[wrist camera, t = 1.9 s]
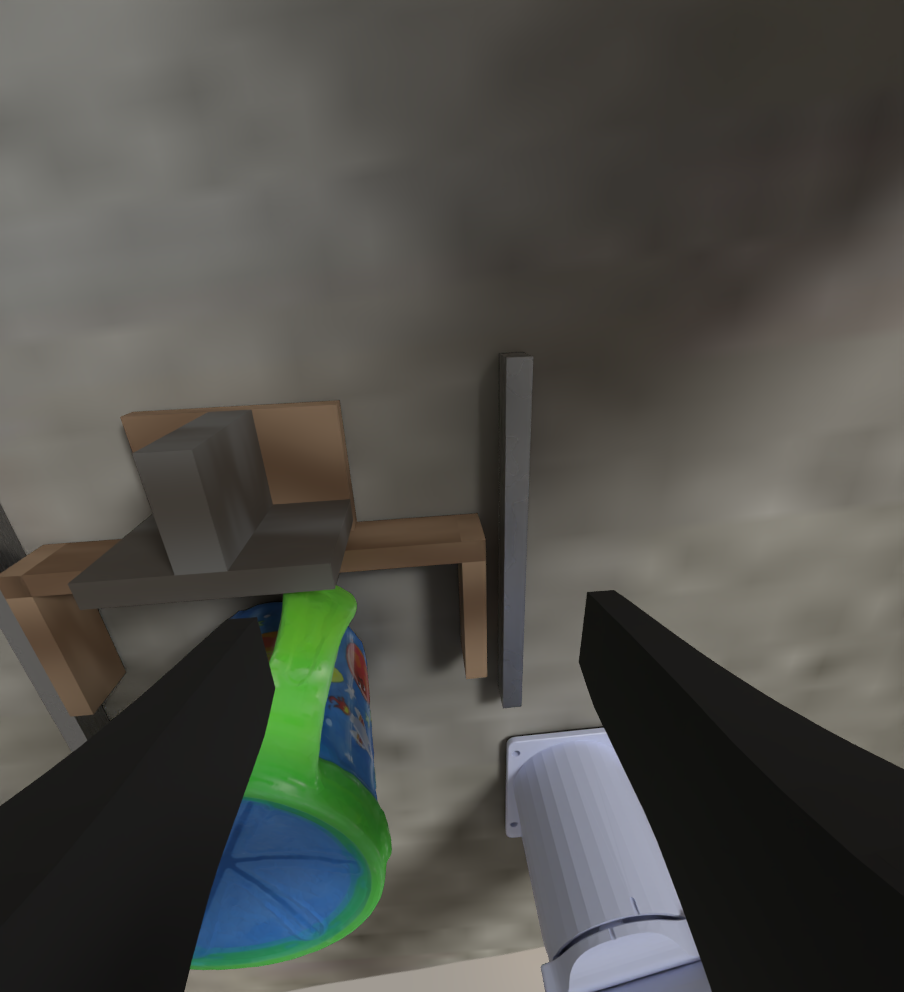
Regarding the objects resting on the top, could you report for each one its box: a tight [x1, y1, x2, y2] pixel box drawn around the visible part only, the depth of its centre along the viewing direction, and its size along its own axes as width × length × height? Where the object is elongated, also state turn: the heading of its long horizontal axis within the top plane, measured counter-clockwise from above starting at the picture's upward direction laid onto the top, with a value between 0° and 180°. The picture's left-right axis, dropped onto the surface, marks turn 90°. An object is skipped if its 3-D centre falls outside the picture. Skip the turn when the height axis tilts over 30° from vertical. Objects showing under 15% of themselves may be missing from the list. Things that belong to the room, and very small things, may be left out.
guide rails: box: [0, 352, 533, 751], centre depth 20 cm, size 18×23×2 cm
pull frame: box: [0, 400, 487, 717], centre depth 17 cm, size 13×19×6 cm
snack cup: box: [190, 585, 392, 970], centre depth 18 cm, size 16×10×10 cm
